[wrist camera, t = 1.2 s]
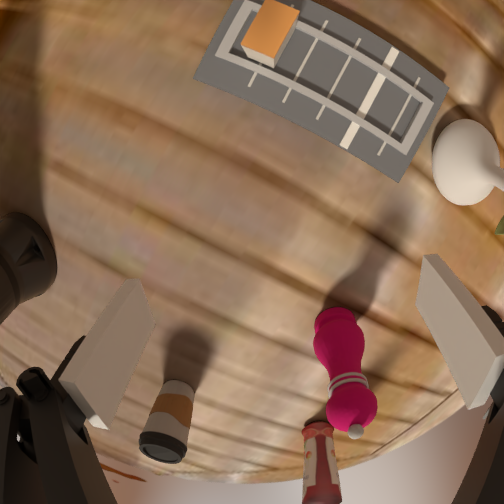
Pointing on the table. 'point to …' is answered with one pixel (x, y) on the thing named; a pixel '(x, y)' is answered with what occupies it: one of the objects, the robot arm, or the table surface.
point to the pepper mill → (344, 371)
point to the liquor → (320, 465)
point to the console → (331, 83)
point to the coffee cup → (168, 423)
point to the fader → (270, 32)
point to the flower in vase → (467, 164)
